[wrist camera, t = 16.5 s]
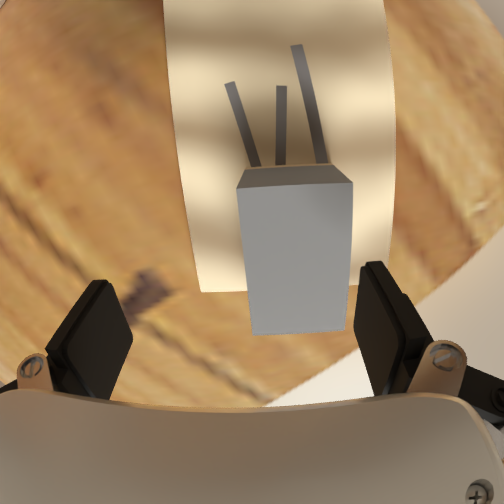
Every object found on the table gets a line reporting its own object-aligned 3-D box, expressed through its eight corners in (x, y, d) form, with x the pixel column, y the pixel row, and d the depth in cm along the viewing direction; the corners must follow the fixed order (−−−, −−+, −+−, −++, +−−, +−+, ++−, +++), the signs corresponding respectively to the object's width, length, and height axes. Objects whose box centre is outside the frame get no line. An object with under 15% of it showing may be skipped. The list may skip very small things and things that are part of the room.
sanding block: (245, 167, 17) (236, 188, 13) (331, 163, 17) (353, 182, 12) (257, 286, 21) (252, 335, 16) (330, 282, 20) (344, 330, 16)
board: (169, 2, 14) (163, -3, 13) (374, -8, 12) (380, -14, 11) (204, 283, 22) (201, 292, 21) (380, 273, 21) (385, 282, 20)
